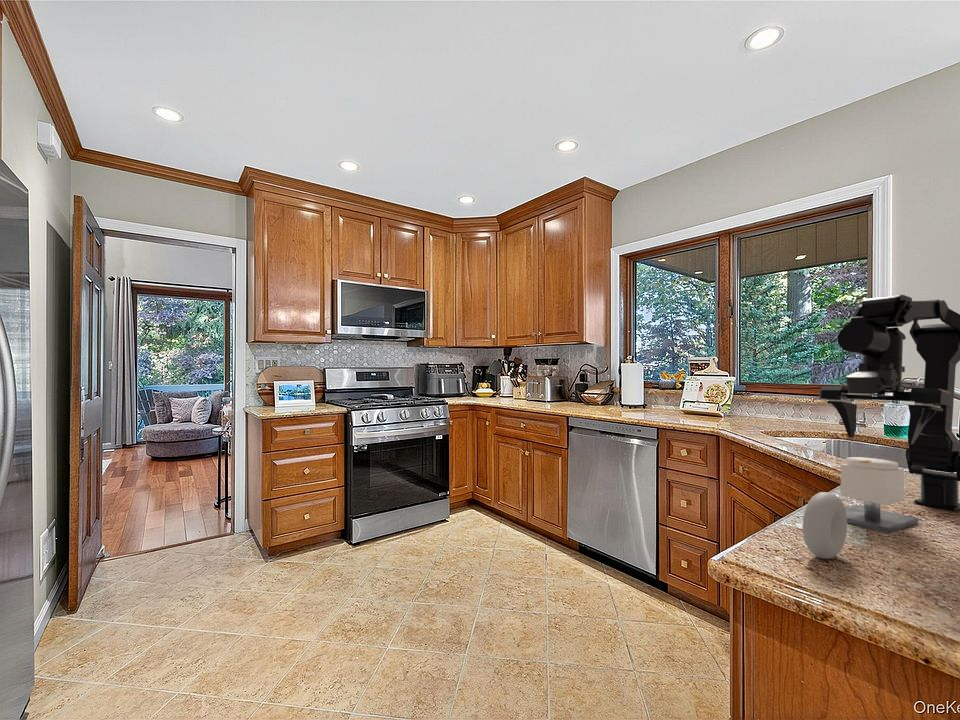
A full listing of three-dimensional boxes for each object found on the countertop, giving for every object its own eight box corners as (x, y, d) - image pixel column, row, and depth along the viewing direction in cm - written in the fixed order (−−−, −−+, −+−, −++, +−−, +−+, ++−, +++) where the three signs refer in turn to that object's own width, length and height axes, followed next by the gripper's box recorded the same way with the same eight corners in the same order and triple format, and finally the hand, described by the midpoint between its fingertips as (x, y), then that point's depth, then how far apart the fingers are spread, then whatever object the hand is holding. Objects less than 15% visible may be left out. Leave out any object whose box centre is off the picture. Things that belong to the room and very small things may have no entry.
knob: (858, 490, 92) (857, 455, 92) (906, 500, 85) (906, 461, 85) (838, 495, 88) (837, 458, 88) (887, 505, 81) (886, 465, 82)
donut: (826, 569, 65) (825, 499, 66) (798, 561, 68) (798, 494, 68) (851, 554, 71) (850, 490, 71) (825, 547, 74) (824, 485, 74)
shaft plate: (857, 509, 94) (857, 477, 94) (917, 523, 86) (917, 488, 86) (826, 517, 89) (826, 483, 89) (887, 533, 80) (887, 495, 80)
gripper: (806, 355, 93) (802, 432, 92) (927, 351, 76) (925, 445, 75) (835, 363, 98) (832, 435, 97) (955, 361, 81) (953, 448, 80)
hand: (879, 440), depth 87 cm, fingers open, 9 cm apart
